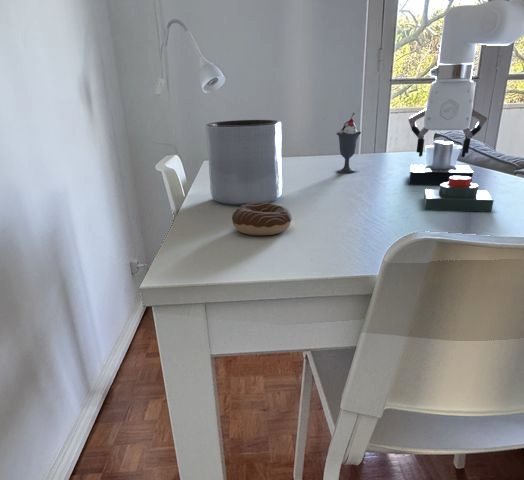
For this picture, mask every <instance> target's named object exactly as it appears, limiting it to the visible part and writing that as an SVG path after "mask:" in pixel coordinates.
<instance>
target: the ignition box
mask: <svg viewBox="0 0 524 480" xmlns="http://www.w3.org/2000/svg"><path fill="white" fill-rule="evenodd" d="M448 183H449V182H444V183H441V184H440V185H439V189H435V188H433V189H431V188H430V189H429V188H428V189H427V188H426V189H424V195H423V203H424V204H423V205H424V210H425V211H445V212H446V211H447V212H451V211H452V212H453V211H454V212H480V213H481V212H483V213H488V212H489V213H491V212H492V210H493V205H494V198H492V196H491V194H490V193H489V191H488V190H486V189H485V190H483V189H479V185H478V183H473V182H471V183H470V187H452V186H448Z"/></svg>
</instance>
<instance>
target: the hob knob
mask: <svg viewBox="0 0 524 480" xmlns="http://www.w3.org/2000/svg"><path fill="white" fill-rule="evenodd" d="M433 145H434V152H433V159H432V167H431V168H432V169H436V170H447V169H449V168H450V162H451V155H452V149H453V145H454V142H453V141H444V140H435V141H434V144H433Z"/></svg>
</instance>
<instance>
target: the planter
mask: <svg viewBox="0 0 524 480" xmlns="http://www.w3.org/2000/svg"><path fill="white" fill-rule="evenodd" d="M205 132H206V144H207V145H206V146H207V157H208V173H209V186H210V195H211V198H212V199H213V200H215V201H216V203H219V204H223V205H228V206H230V205H231V206H243V205H246V204H249V203H273V202H274V201H277V200H278V199H279V198H280V197H281V196H282V195H283V192H284V191H283V190H284V184H283V182H284V181H283V179H284V178H283V149H282V146H283V143H282V142H283V141H282V139H283V137H282V136H283V135H282V122H281V121H280V120H278V119H277V120H276V119H238V120H237V119H236V120H234V119H233V120H223V121H222V120H221V121H213V122H208V123H207V124H206V125H205Z"/></svg>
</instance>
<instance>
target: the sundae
mask: <svg viewBox="0 0 524 480" xmlns="http://www.w3.org/2000/svg"><path fill="white" fill-rule="evenodd" d="M355 114H356V113H355V112H353V113H352V116H351V117H350V119H349V120H347V121H346V122H345V123H344V124H343V126H342V128H340V130H339V131H337V132H336V133H335V134H336V136H338V144H339V145H338V146H339V153H340V155H341V157H343V158H344V166H343V168H341V169H338V170H337V173H339V174H352V173H355V172H356V170H355V169H352V168H351V166H350V159H351V158H352V157H353V156H354V155H355V154H356V153H355V152H356V149H357V144H358V139H359V136H360V135H361V134H362V132H361V131H358V130H357V126H356V124H355V119H353V116H355Z"/></svg>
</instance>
